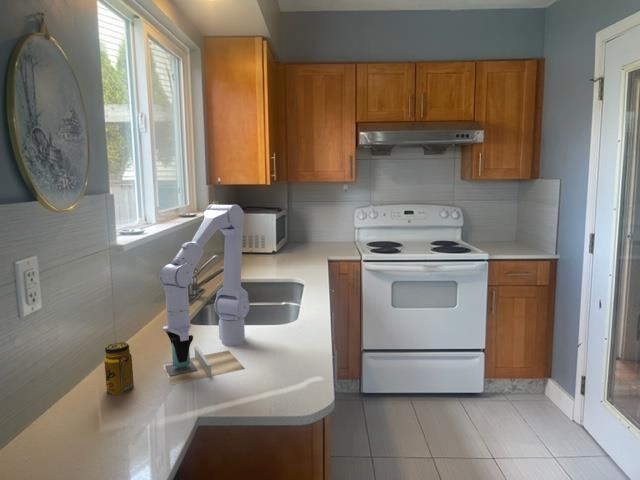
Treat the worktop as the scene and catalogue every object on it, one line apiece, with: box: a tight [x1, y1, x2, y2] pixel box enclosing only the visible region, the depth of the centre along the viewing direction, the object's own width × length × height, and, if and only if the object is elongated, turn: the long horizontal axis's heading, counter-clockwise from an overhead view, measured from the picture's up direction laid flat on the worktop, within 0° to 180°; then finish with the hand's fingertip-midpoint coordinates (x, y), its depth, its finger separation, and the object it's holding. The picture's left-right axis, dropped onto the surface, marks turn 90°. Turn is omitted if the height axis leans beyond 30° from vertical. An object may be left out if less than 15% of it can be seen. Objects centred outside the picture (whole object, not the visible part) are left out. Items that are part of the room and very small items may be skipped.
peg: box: [171, 343, 191, 367], centre depth 119 cm, size 4×4×6 cm
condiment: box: [103, 341, 135, 396], centre depth 108 cm, size 7×8×12 cm
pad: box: [165, 361, 197, 377], centre depth 119 cm, size 7×7×1 cm
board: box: [161, 349, 246, 386], centre depth 121 cm, size 15×19×1 cm
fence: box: [194, 346, 212, 378], centre depth 121 cm, size 15×1×3 cm, turn 28°
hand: (180, 358), depth 119 cm, fingers closed on peg, 4 cm apart
